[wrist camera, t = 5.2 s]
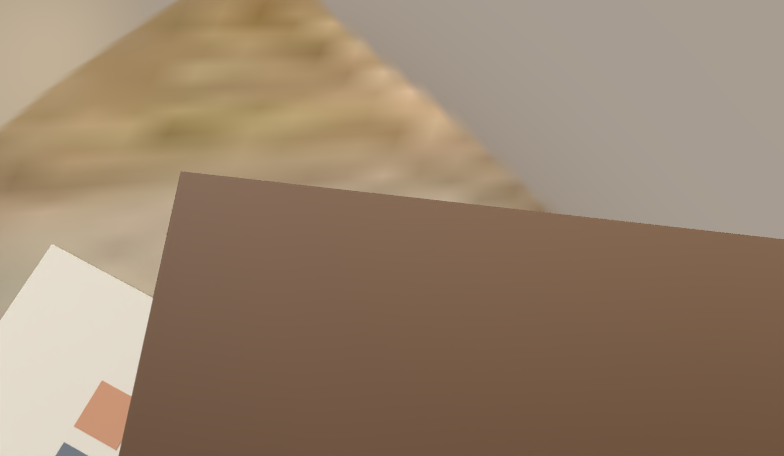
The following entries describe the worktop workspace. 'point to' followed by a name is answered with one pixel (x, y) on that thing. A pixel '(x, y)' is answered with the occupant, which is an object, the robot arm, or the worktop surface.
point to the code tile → (69, 360)
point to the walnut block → (451, 331)
